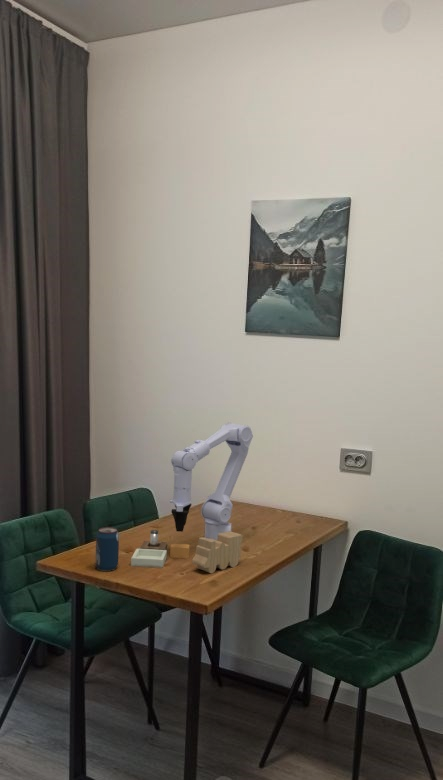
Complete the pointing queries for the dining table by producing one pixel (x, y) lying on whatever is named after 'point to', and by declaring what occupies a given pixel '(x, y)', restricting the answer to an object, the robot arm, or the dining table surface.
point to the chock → (180, 550)
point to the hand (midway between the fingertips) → (180, 528)
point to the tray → (149, 558)
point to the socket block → (160, 547)
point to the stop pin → (154, 538)
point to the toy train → (218, 552)
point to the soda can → (107, 549)
